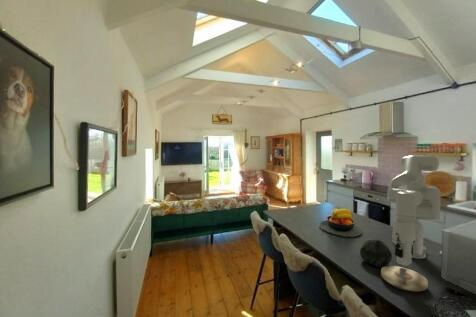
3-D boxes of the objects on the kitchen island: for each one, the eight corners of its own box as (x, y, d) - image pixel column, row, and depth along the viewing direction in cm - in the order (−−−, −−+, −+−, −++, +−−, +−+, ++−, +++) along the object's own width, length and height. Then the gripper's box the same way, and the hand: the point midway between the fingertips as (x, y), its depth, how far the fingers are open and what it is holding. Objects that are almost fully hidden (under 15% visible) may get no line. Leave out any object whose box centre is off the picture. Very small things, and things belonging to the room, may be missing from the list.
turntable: (427, 277, 110) (427, 261, 110) (428, 296, 96) (429, 277, 96) (383, 265, 121) (383, 251, 121) (378, 281, 107) (379, 264, 107)
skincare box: (406, 266, 105) (407, 240, 104) (395, 262, 108) (396, 237, 108) (412, 262, 108) (412, 237, 108) (401, 259, 112) (401, 234, 111)
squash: (364, 244, 140) (362, 231, 131) (393, 252, 130) (393, 238, 122) (359, 266, 132) (356, 253, 124) (390, 276, 123) (389, 263, 114)
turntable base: (397, 273, 118) (398, 269, 118) (429, 288, 105) (429, 284, 105) (379, 278, 113) (379, 275, 113) (409, 295, 100) (409, 291, 100)
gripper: (408, 214, 114) (407, 249, 115) (384, 217, 108) (383, 254, 108) (425, 218, 107) (424, 255, 108) (401, 222, 101) (399, 262, 101)
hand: (403, 254), depth 108 cm, fingers closed on skincare box, 6 cm apart
